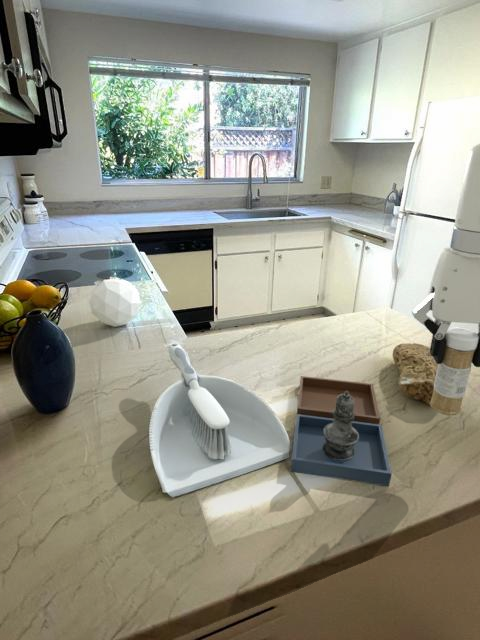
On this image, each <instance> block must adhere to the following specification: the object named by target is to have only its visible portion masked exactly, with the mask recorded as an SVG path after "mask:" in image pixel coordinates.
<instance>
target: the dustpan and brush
mask: <svg viewBox="0 0 480 640" xmlns="http://www.w3.org/2000/svg"><path fill="white" fill-rule="evenodd" d="M167 350H168V355H169V358H170V360H171V362H172V364H173V365H174V366H175V367H176V368H177V369H178V370H179V372H180V375H181V376H180V378H179V379H178V380H177V381H175V382H174V383H172V384H171V385H169V386H168V387H167V388H166V389H165V390H163V392H162V393H161V394H160V395H159V397H158V398H157V400H156V401H155V403H154V406H153V410H152V413H151V416H150V420H149V425H148V426H149V428H148V432H149V433H148V441H149V442H148V443H149V450H150V456H151V461H152V465H153V468H154V471H155V474H156V476H157V479H158V481H159V484H160V487H161V491H162V493H164V494H165V493H166V494H167V495H168V496H169V497H171V498H172V499H173V498H175V497H179V496H181V495H184V494H185V495H186V494H188V493H191V492H194V491H197V490H200V489H203V488H206V487H209V486H213V485H216V484H218V483H221V482H224V481H227V480H231V479H233V478H237V477H239V476H242V475H245V474H248V473H251V472H253V471H256V470H259V469H262V468H264V467H267V466H270V465H273V464H275V463H276V464H277V463H278V462H281V461H284V460H286V459H289V458H290V452H292V451H291V449H292V448H291V441H290V438H289V434H288V431H287V430H286V427H285V425H284V424H283V422H282V421H281V419H280V418H279V416H278V415H277V414H276V413H275V411H273V408H271V406H270V405H268V403H267V402H265V400H263V398H261V397H260V396H259V395H257V393H255V392H254V391H252V390H250V388H248V387H246V386H245V385H243V384H241V383H239V382H237V381H234V380H232V379H229V378H225V377H223V376H217V375H208V374H207V375H205V374H199V373H198V372H197V371H196V369H195V368H194V367H193V366H192V363H191V360H190V357H189V354H188V352H187V351H186V350H185V349H184V347H182V345H180V344H179V343H178V342H171V343H168V345H167Z"/></svg>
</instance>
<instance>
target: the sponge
mask: <svg viewBox="0 0 480 640" xmlns="http://www.w3.org/2000/svg"><path fill="white" fill-rule="evenodd" d="M391 356H392V359H393V361H394V364H395V367H396V368H397V370H398V372H399V377H398V387H399V389H400V391H401V392H402V394H403V395H404V396H407V397H408V398H411V399H414V400H418V401H421V400H422V402H425V403H426V404H427V405H429V406H431V405H430V401H431V399H432V395H433V390H434V383H435V378H436V373H437V369H438V365H439V364H436V362H435V360H434V358H433V356H431V355H430V347H429V346H427V345H424V344H421V343H414V342H413V343H410V342H409V343H399V344H397V345H396V346H395V347H394V348H393V350H392V355H391Z"/></svg>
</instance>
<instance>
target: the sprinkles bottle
mask: <svg viewBox="0 0 480 640" xmlns="http://www.w3.org/2000/svg"><path fill="white" fill-rule="evenodd" d="M478 339H479V336H478V332H475V331H473V330H471V329H468V328H464V327H455V326H453V327H449V328H448V330H447V332H446V334H445V340H446V341H447V343H446V348H445V353H444V357H443V362H442V363H441V364H439V365H438V369H437V373H436V378H435V383H434V390H433V395H432V399H431V401H430V405H429V406H430V407H431V408H432V409H433V410H434V411H435V412H437V413H438V414H441V415H445V416H449V417H450V416H457V415H458V414H460V413H461V411H462V403H463V399H464V396H465V394H466V390H467V387H468V381H469V378H470V373H471V369H472V364H473V363H472V359H473V355H474V351H475V350H476V348H477V344H478Z"/></svg>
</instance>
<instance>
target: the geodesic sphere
mask: <svg viewBox="0 0 480 640" xmlns="http://www.w3.org/2000/svg"><path fill="white" fill-rule="evenodd" d="M93 284H94V285H95V286H94V287H93V288H92V291H91V294H90V297H89V300H88V303H89V306H90V310H91V315H93V316H94V317H95V318H96V319H97V320H98V321H99V322H101V323H102V324H105V325H108V326H111V327H114V328H116V327H120V326H125V325H128V324H129V323H131V321H133V320H134V319H136V318H137V316H138V315H139V311H140V307H141V299H140V294H139V290H138V289H137V288H136V287H135V286H134V285H133V284H132V283H131V282H130V281H128V280H125V279H122V278H120V277H117V276H116V277H114V276H111V275H110V276H109V279H99V280H96V281H94V282H93Z"/></svg>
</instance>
